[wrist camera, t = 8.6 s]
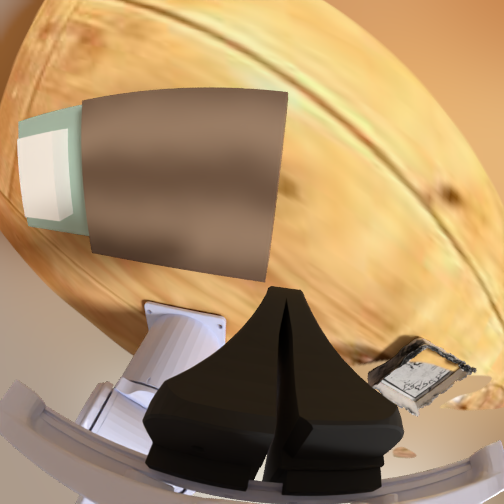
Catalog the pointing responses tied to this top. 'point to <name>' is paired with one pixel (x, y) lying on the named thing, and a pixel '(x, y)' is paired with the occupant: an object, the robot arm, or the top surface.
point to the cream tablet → (45, 175)
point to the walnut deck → (184, 177)
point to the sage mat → (73, 122)
